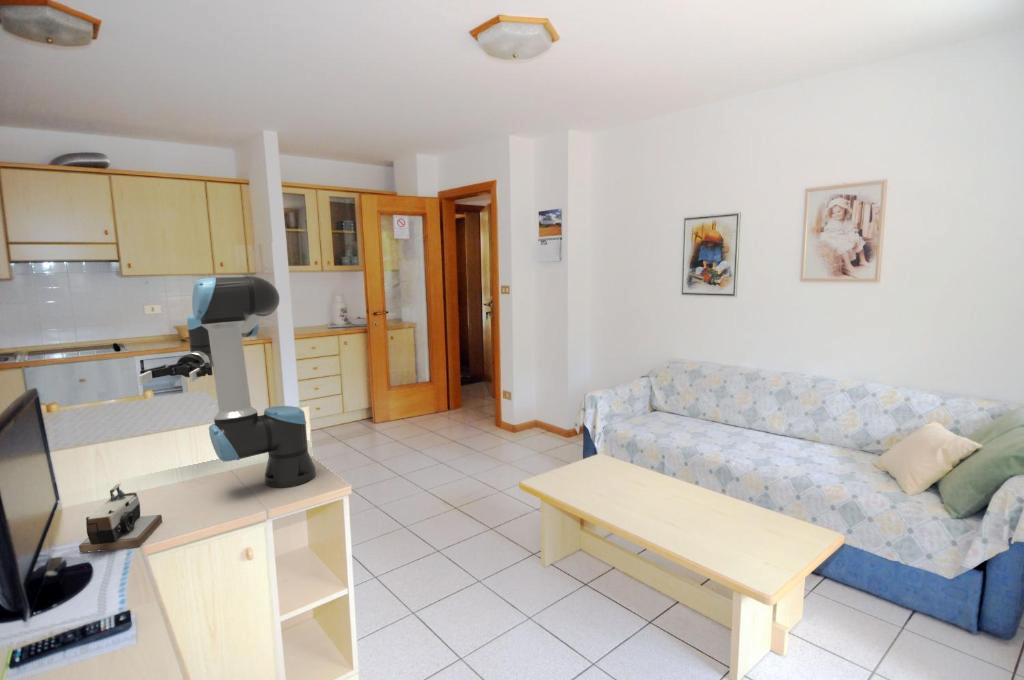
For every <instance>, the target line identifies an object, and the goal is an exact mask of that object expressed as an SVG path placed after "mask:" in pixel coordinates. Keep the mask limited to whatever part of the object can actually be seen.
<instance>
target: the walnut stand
mask: <svg viewBox="0 0 1024 680" xmlns="http://www.w3.org/2000/svg"><path fill="white" fill-rule="evenodd" d="M162 522H163V516H162V514H154V515H153V514H152V515H142V516H141V515H140V518H138V519H137V520H136V521H135V524H134V530H133V531H132V532H130V533H126V534H123V535H121V536H120V538H118V540H117V541H116V542H113V543H111V544H110V543H105V544H94V545H91V543H90V540H89V538H88V537H87V538H85V539H84V540H83V542H81V543H80V544H79V545H78V550H79V553H80V552H88V551H97V552H102V551H101V550H106V551H115V550H123V549H133V548H140V547H141V546H142V545H143V543H145V541H146V540H147V539H148V538H149V537H150V536H151V535H152V533H154V531H155V530H156V529H157V528H158V527H159V526H160V525H161V524H162ZM114 549H115V550H114ZM98 550H100V551H98ZM88 553H89V552H88Z"/></svg>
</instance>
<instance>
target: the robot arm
mask: <svg viewBox="0 0 1024 680" xmlns="http://www.w3.org/2000/svg"><path fill="white" fill-rule="evenodd" d="M191 297H192V299H191V301H192V302H191V307H192V308H191V309H192V313H193V314H191V315H189V316H187V318H186V319H187V321H186V323H187V325H186V326H187V333H188V339H189V351H190V352H189V353H187V354H184V355H183V356H181V357H180V358H179V359H178V360H177V362H176V363H174V364H169V365H168V364H163V365H161V366H156V367H152V368H148V369H143V370H140V371H139V373H140V374H139V375H138V381H139V382H138V383H139V385H141V386H143V385H145V384H146V383H148V382H151V381H153V380H154V379H157V378H161V377H166V376H169V377H173V376H174V377H175V376H183V377H185V378H189V381H190V383H191V382H195V381H196V380H199V378H201V377H206V376H207V375H208V376H210V377H211V376H213V377H214V385H215V392H216V398H217V399H216V400H217V407H218V411H217V413H216V415H214V417H213V421H214V422H213V423H212V424H210V425H209V426H208V431H209V432H208V433H209V438H210V440H211V441H210V442H211V445H212V447H213V449H214V451H215V454H216V456H217V457H218V459H219V460H220V461H222V462H223V463H225V462H226V463H227V462H233V461H240V460H241V459H245V458H246V459H247V458H250V457H253V456H257V455H263V454H267V453H268V460H267V464H266V468H265V472H264V483H265V485H267V486H268V487H271V488H290V487H289V486H291V487H294V485H296V486H298V484H300V485H302V484H301V483H303V482H305V483H307V482H306V481H308V480H309V481H311V480H312V479H314V478H315V477H316V475H315V474H316V472H317V471H316V466H315V463H314V462H313V459H312V457H311V455H310V452H309V448H308V445H309V444H308V437H307V436H308V435H307V421H306V416H305V411H304V410H303V409H302V408H300V407H299V406H298V407H297V406H292V405H277V406H276V405H275V406H269V407H266V408H265V409H264V411H263V414H261V415H258V410H257V409H256V408H254V407H253V406H252V404H251V403H252V402H251V396H250V390H249V389H250V387H249V383H248V382H249V381H248V375H247V367H246V365H247V364H246V359H245V358H246V357H245V351H244V350H245V349H244V344H243V343H244V341H243V338H249V337H254V336H257V335H258V333H259V323H260V322H261V321H262V320H263V319H264V318H265V317H267V316H269V315H271V314H273V313H275V311H276V310H277V309H278V307H279V305H280V294H279V291H278V289H277V288H276V287H275V286H274V285H273V284H272V283H270V281H268V280H267V279H264V278H262V277H258V276H249V275H248V276H222V277H221V276H220V277H215V276H214V277H206V278H200V279H198V280H196V282H195V284H194V286H193V290H192V296H191ZM313 477H314V478H313ZM311 478H312V479H311ZM310 479H311V480H310ZM309 481H308V482H309ZM303 484H304V483H303Z"/></svg>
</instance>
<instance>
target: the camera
mask: <svg viewBox="0 0 1024 680" xmlns="http://www.w3.org/2000/svg"><path fill="white" fill-rule="evenodd" d="M121 484H122V483H117V484H116V485H114V486H113V488H111V489H110V490H109V494H110V498H109V499H108V500H107V501H106V502H104V504H103V505H102V506H100V507H99V508H98V509H97V510H95V512H94V513H92V515H90V516H87V517H86V518H85V520H86V522H85V524H86V535H87V538H89V540H90V543H91V545H94V544H105V543H110V544H111V543H113V542H116V541H117V540H118V538H120V536H121V535H123V534H126V533H130V532H132V531H133V530H134V524H135V521H136V520H137V519H138V518H140V516H141V504H140V499H139V496H138V493H137V492H124V491H123V490H122V489H120V486H121ZM115 491H116V492H117V494H116V493H115V494H114V492H115Z"/></svg>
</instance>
